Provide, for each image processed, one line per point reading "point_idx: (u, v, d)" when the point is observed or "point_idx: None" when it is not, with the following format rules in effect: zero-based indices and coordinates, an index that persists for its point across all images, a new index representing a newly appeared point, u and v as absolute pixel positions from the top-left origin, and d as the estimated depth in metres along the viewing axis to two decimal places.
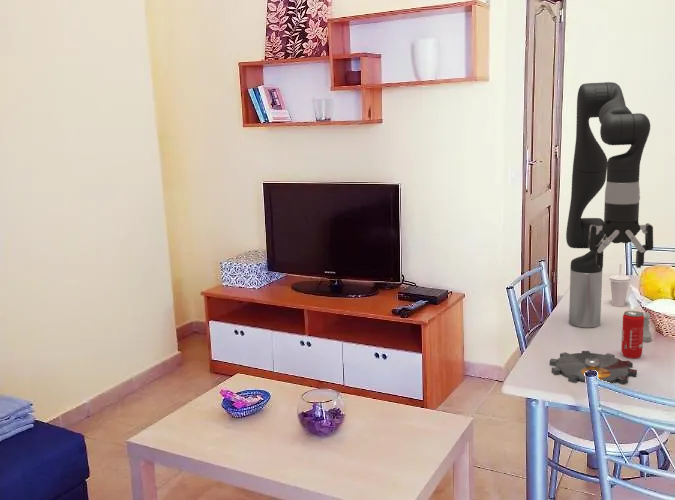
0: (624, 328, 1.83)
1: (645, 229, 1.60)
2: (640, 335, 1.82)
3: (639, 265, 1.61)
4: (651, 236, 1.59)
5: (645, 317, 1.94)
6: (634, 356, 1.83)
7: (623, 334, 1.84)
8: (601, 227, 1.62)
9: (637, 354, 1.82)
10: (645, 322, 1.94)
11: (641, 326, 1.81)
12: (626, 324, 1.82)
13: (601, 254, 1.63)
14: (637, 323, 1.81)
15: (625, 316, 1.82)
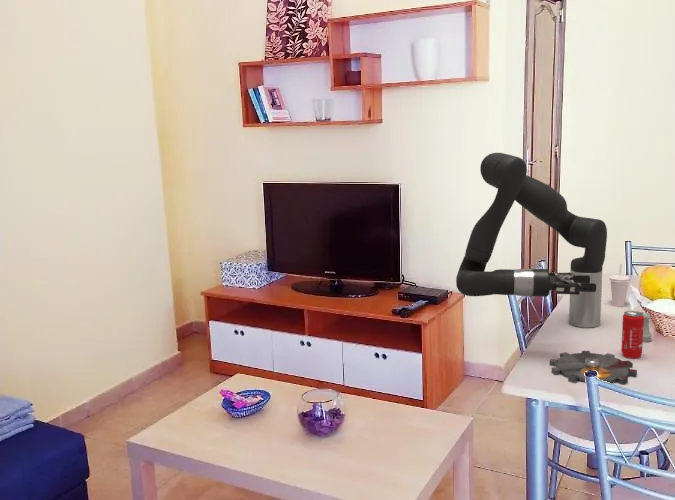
0: (624, 328, 1.83)
1: None
2: (640, 335, 1.82)
3: None
4: None
5: (645, 317, 1.94)
6: (634, 356, 1.83)
7: (623, 334, 1.84)
8: None
9: (637, 354, 1.82)
10: (645, 322, 1.94)
11: (641, 326, 1.81)
12: (626, 324, 1.82)
13: None
14: (637, 323, 1.81)
15: (625, 316, 1.82)
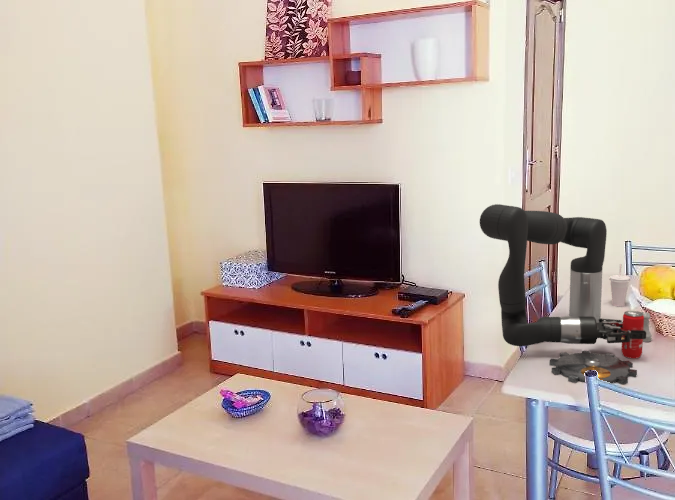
0: (624, 328, 1.83)
1: None
2: None
3: None
4: None
5: (645, 317, 1.94)
6: (634, 356, 1.83)
7: None
8: None
9: (637, 354, 1.82)
10: (645, 322, 1.94)
11: (641, 326, 1.81)
12: (626, 324, 1.82)
13: None
14: (637, 323, 1.81)
15: (625, 316, 1.82)
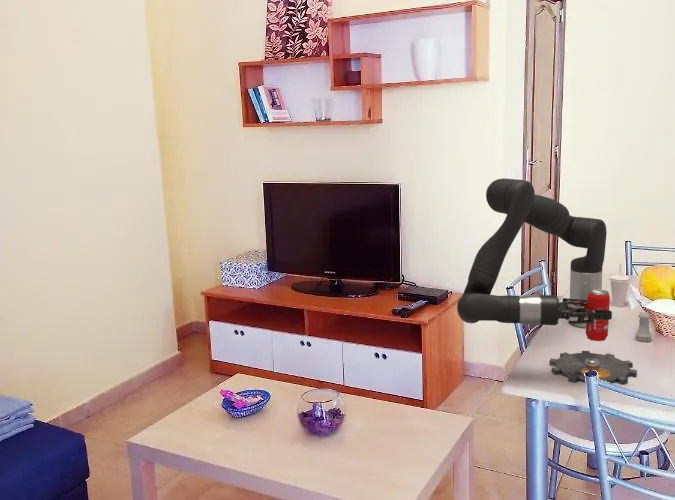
0: (588, 308, 1.68)
1: None
2: None
3: None
4: None
5: (645, 317, 1.94)
6: (599, 339, 1.68)
7: None
8: None
9: (602, 336, 1.67)
10: (645, 322, 1.94)
11: (606, 306, 1.66)
12: (590, 304, 1.67)
13: None
14: (602, 303, 1.65)
15: (589, 295, 1.67)
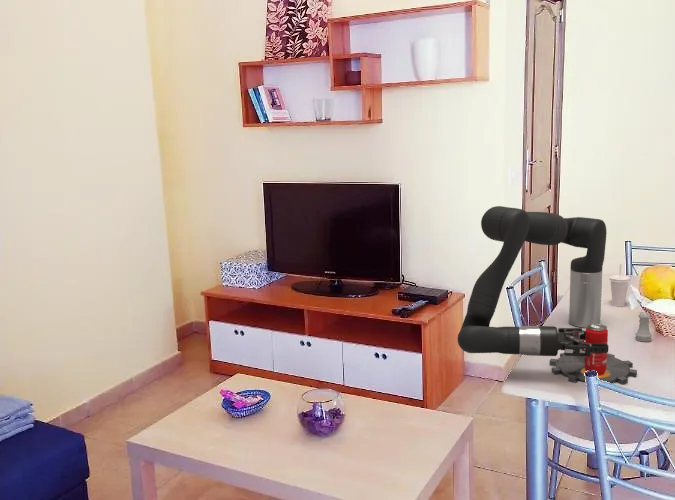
0: None
1: None
2: None
3: None
4: None
5: (645, 317, 1.94)
6: None
7: None
8: None
9: (600, 371, 1.69)
10: (645, 322, 1.94)
11: (605, 341, 1.68)
12: (588, 339, 1.69)
13: None
14: (601, 338, 1.67)
15: (587, 330, 1.69)
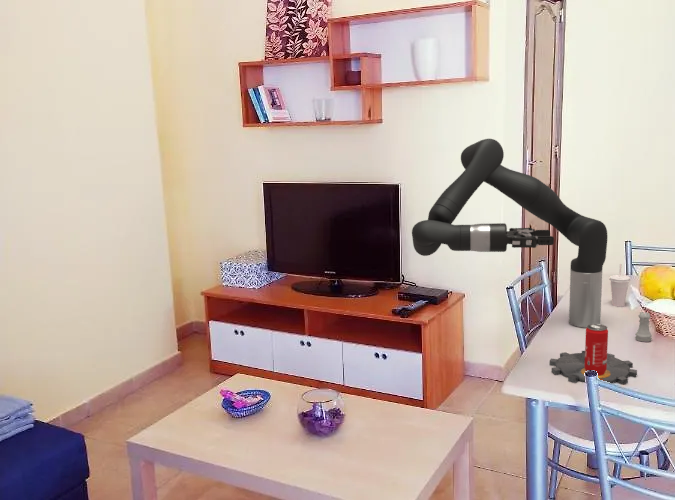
0: (587, 343, 1.70)
1: None
2: (603, 350, 1.68)
3: None
4: None
5: (645, 317, 1.94)
6: None
7: (585, 349, 1.71)
8: None
9: (600, 371, 1.69)
10: (645, 322, 1.94)
11: (605, 341, 1.68)
12: (589, 339, 1.69)
13: None
14: (601, 338, 1.67)
15: (588, 330, 1.69)
